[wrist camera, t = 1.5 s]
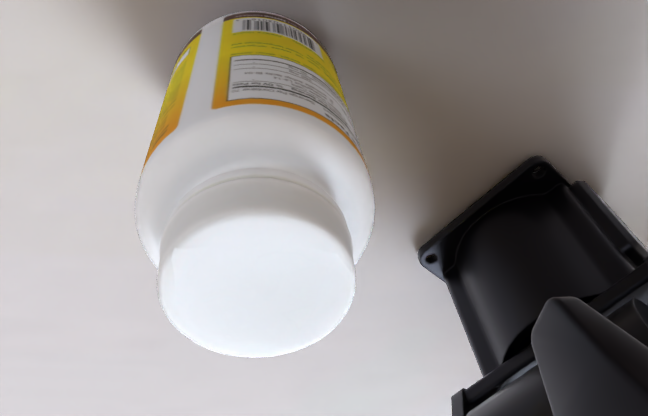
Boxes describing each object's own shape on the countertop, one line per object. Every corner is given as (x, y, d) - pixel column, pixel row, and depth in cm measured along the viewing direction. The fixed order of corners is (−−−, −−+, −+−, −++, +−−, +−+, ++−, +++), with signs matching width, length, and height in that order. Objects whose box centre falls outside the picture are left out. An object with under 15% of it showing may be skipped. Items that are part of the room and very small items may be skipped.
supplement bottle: (217, 178, 22) (192, 412, 13) (142, 41, 18) (47, 235, 10) (358, 128, 21) (424, 340, 13) (305, -23, 18) (348, 128, 9)
